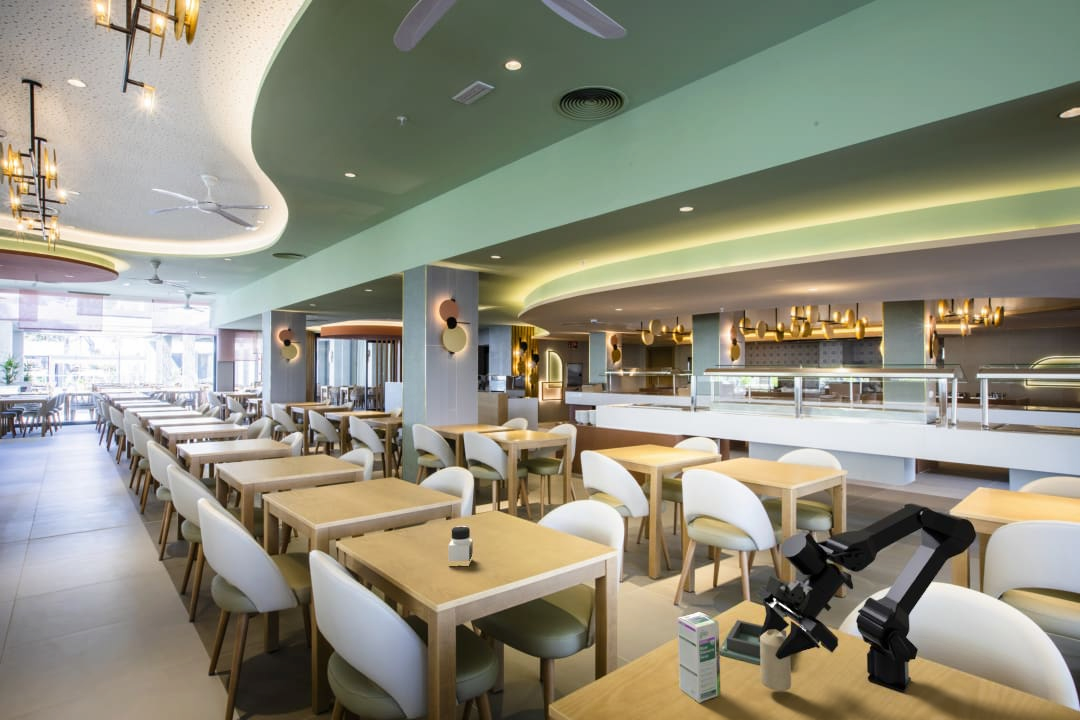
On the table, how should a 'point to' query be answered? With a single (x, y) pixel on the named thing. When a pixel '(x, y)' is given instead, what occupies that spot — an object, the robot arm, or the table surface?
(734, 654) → the header socket
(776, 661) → the candle
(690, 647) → the syrup box
